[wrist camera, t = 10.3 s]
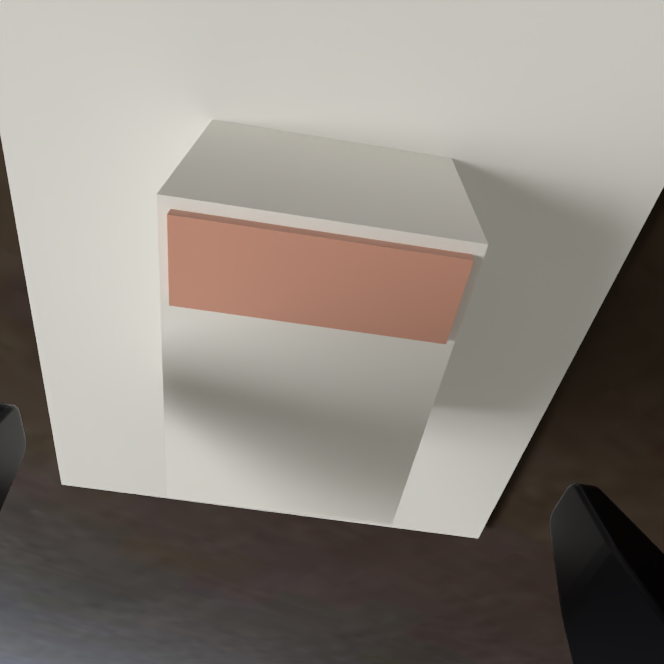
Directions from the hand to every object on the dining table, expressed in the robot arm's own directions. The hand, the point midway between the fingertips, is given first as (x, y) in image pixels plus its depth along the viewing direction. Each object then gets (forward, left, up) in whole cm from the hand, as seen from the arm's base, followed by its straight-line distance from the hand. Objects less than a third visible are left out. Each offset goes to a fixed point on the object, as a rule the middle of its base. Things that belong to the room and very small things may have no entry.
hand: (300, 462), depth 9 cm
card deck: (0, 0, -6) cm, 6 cm away
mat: (0, 0, -6) cm, 6 cm away
